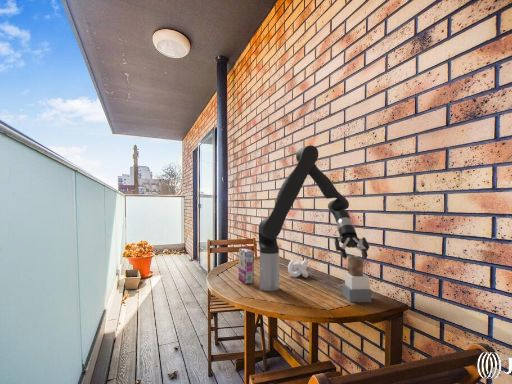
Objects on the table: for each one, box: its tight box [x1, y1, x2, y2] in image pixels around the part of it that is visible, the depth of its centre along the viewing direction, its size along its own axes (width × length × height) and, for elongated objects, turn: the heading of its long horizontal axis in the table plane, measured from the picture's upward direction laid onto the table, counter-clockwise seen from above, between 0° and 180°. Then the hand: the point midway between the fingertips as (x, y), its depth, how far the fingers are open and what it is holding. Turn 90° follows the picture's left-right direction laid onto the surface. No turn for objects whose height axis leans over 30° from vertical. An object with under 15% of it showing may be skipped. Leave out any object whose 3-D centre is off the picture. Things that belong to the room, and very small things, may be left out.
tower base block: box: [341, 282, 373, 303], centre depth 107 cm, size 9×9×5 cm
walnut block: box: [347, 256, 364, 276], centre depth 108 cm, size 4×4×7 cm
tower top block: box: [344, 272, 371, 289], centre depth 108 cm, size 8×8×5 cm
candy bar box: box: [238, 248, 255, 285], centre depth 133 cm, size 11×5×16 cm, turn 22°
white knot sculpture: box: [287, 258, 309, 278], centre depth 142 cm, size 11×12×9 cm
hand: (355, 258), depth 108 cm, fingers open, 8 cm apart
